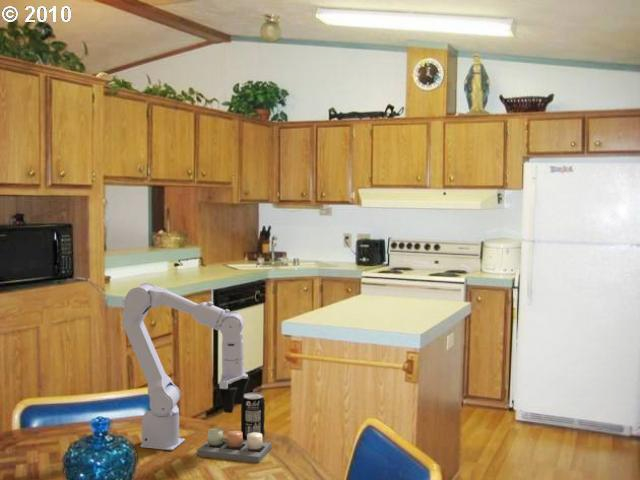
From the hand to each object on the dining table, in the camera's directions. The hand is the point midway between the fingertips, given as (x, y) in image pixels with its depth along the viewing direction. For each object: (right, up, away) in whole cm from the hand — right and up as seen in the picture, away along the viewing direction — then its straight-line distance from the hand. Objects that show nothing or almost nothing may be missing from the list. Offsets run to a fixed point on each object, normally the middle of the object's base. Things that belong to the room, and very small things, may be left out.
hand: (233, 407), depth 180 cm
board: (+1, -11, -4) cm, 11 cm away
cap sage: (-4, -9, -2) cm, 10 cm away
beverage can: (+4, -10, +7) cm, 13 cm away
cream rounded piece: (+6, -9, -5) cm, 12 cm away
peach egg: (+1, -9, -4) cm, 9 cm away
